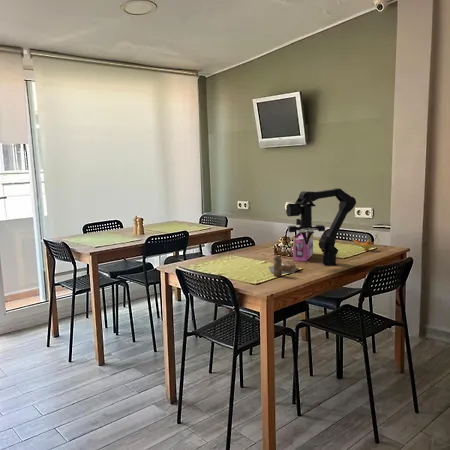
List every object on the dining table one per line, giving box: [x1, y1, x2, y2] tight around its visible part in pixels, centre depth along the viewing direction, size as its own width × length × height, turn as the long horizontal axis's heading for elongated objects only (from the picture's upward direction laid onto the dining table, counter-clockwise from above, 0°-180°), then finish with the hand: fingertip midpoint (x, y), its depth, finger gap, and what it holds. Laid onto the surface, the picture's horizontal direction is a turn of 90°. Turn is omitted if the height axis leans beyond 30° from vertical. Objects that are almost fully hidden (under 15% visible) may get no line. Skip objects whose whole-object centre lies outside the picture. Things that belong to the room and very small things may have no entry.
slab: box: [282, 260, 297, 272], centre depth 234 cm, size 3×10×7 cm
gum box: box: [292, 231, 314, 262], centre depth 262 cm, size 24×8×14 cm, turn 159°
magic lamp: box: [350, 234, 380, 251], centre depth 275 cm, size 7×18×11 cm, turn 52°
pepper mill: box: [273, 255, 283, 278], centre depth 222 cm, size 4×4×10 cm
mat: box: [268, 265, 296, 274], centre depth 234 cm, size 12×14×1 cm
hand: (306, 244), depth 238 cm, fingers closed
